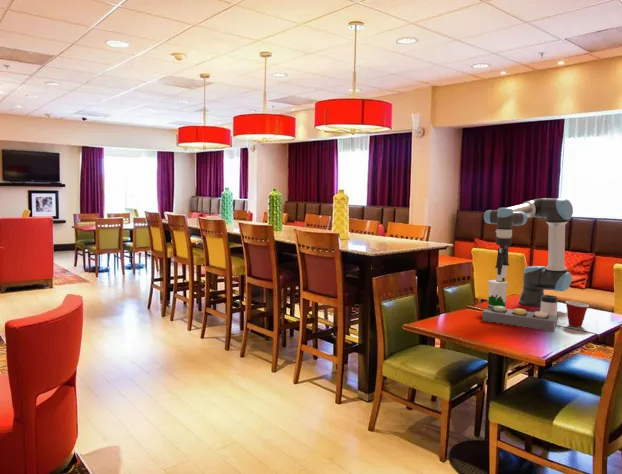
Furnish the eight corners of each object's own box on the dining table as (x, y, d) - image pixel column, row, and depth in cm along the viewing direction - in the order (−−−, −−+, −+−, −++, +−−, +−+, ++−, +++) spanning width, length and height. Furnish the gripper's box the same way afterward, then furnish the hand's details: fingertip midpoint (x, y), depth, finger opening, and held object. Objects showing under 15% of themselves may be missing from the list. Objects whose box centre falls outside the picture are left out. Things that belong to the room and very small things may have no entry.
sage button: (495, 308, 267) (495, 305, 267) (506, 310, 264) (506, 306, 263) (492, 311, 262) (492, 307, 262) (504, 312, 259) (504, 309, 258)
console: (488, 315, 273) (489, 306, 272) (557, 325, 254) (557, 315, 254) (482, 320, 261) (482, 311, 261) (553, 331, 243) (554, 321, 242)
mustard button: (514, 311, 261) (514, 307, 261) (527, 313, 258) (527, 309, 258) (512, 313, 256) (512, 310, 256) (524, 315, 253) (525, 311, 253)
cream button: (535, 314, 256) (535, 310, 256) (548, 316, 253) (548, 312, 253) (533, 316, 251) (533, 312, 251) (546, 318, 248) (546, 314, 248)
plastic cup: (590, 329, 248) (592, 305, 247) (567, 327, 250) (569, 304, 249) (583, 323, 259) (585, 301, 257) (561, 322, 261) (562, 299, 260)
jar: (559, 318, 268) (561, 297, 267) (552, 321, 263) (554, 299, 261) (543, 315, 275) (544, 294, 274) (536, 317, 270) (537, 296, 268)
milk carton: (508, 313, 277) (510, 278, 275) (496, 315, 273) (498, 279, 272) (496, 310, 285) (498, 275, 283) (484, 311, 281) (486, 276, 279)
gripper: (501, 235, 271) (499, 275, 273) (491, 238, 251) (488, 281, 253) (515, 236, 267) (513, 276, 269) (506, 239, 247) (504, 283, 249)
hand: (501, 279), depth 261 cm, fingers open, 11 cm apart
